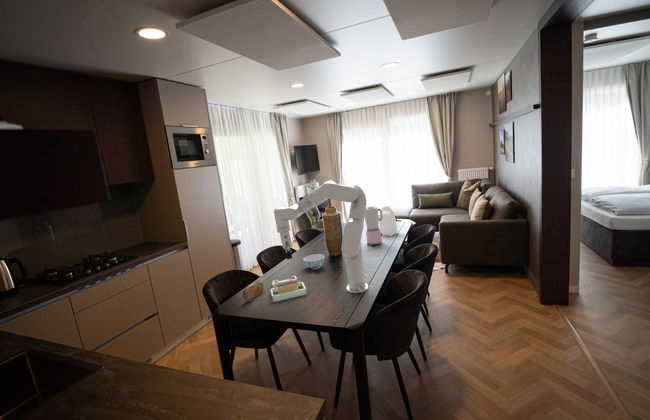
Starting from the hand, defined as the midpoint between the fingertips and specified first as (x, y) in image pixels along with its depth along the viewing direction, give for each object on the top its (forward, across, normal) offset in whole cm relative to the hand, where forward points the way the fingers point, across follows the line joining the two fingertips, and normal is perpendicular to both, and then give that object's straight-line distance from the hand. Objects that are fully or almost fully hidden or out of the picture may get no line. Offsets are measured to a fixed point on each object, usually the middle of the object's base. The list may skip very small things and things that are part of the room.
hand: (288, 256), depth 179 cm
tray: (+22, -3, +4) cm, 22 cm away
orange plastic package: (+22, +4, +24) cm, 32 cm away
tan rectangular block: (+21, -3, +4) cm, 22 cm away
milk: (+23, +75, -103) cm, 130 cm away
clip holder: (+22, +12, +3) cm, 25 cm away
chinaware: (+22, +30, -21) cm, 43 cm away
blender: (+22, +55, -81) cm, 100 cm away
